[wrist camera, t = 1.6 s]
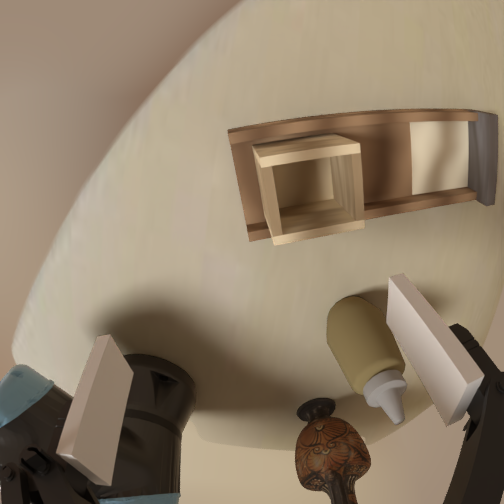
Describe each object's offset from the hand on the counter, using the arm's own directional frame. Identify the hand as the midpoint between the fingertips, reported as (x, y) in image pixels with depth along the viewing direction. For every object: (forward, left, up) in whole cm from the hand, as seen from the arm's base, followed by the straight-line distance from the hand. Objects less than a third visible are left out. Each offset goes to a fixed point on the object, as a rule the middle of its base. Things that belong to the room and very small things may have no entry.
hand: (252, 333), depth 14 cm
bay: (+16, +1, -21) cm, 26 cm away
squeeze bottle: (+12, -19, -21) cm, 31 cm away
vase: (+7, -40, -21) cm, 46 cm away
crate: (+7, +1, -20) cm, 21 cm away
